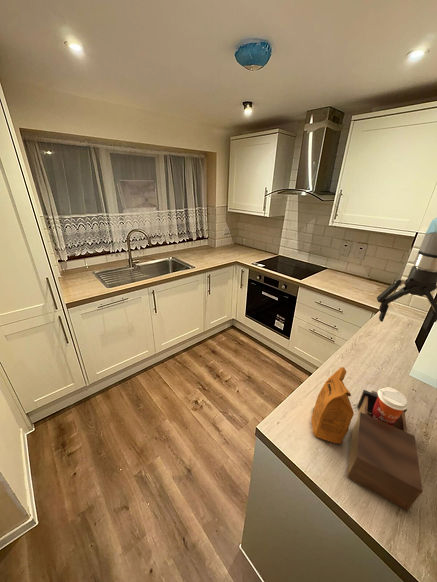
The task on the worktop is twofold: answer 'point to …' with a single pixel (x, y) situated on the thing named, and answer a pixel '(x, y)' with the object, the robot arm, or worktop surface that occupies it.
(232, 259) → the worktop surface
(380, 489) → the cabinet
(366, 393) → the drawer
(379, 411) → the paper cup
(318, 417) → the coffee package
